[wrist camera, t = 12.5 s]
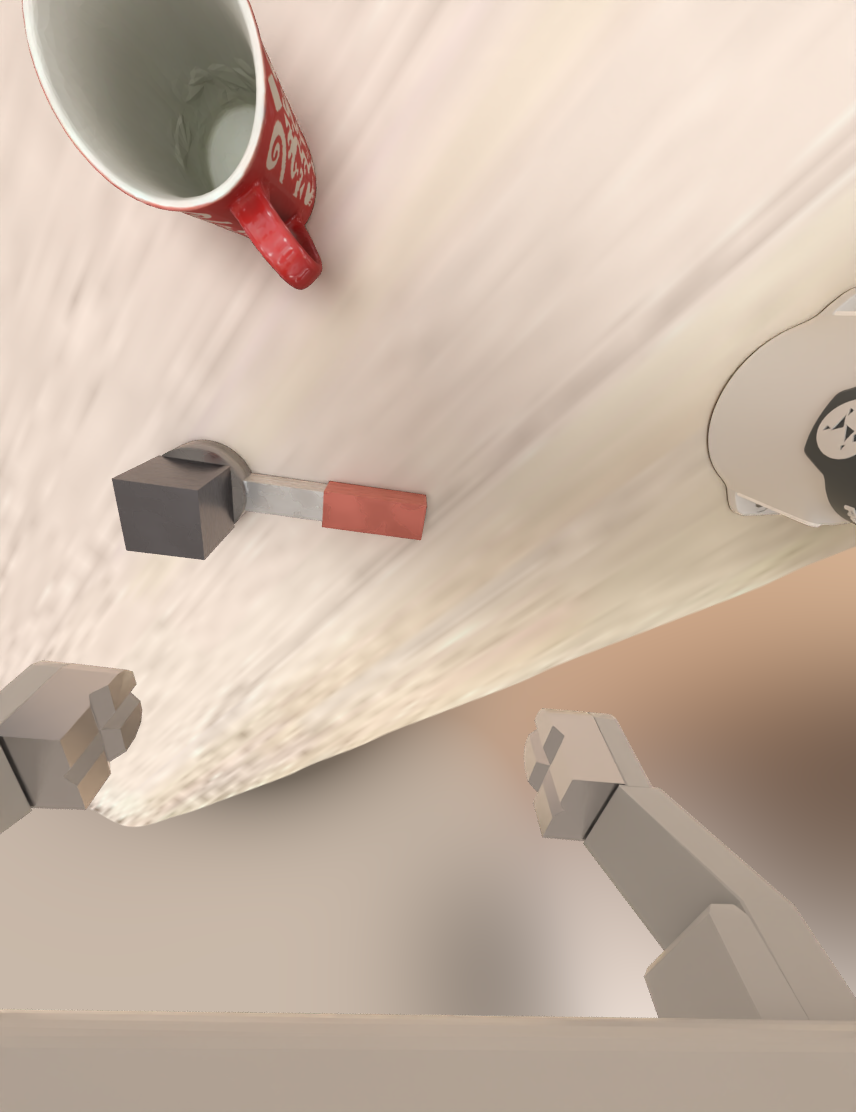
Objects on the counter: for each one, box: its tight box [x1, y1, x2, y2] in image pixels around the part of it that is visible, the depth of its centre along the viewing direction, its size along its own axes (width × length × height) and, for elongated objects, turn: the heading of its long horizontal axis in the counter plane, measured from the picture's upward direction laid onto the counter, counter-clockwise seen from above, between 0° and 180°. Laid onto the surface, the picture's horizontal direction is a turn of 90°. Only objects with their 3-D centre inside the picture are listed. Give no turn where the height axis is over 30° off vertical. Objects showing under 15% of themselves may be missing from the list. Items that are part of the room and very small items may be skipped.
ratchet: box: [162, 440, 427, 540], centre depth 35 cm, size 23×8×8 cm, turn 81°
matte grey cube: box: [112, 456, 234, 560], centre depth 33 cm, size 6×6×6 cm
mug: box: [22, 0, 322, 290], centre depth 23 cm, size 13×9×14 cm
